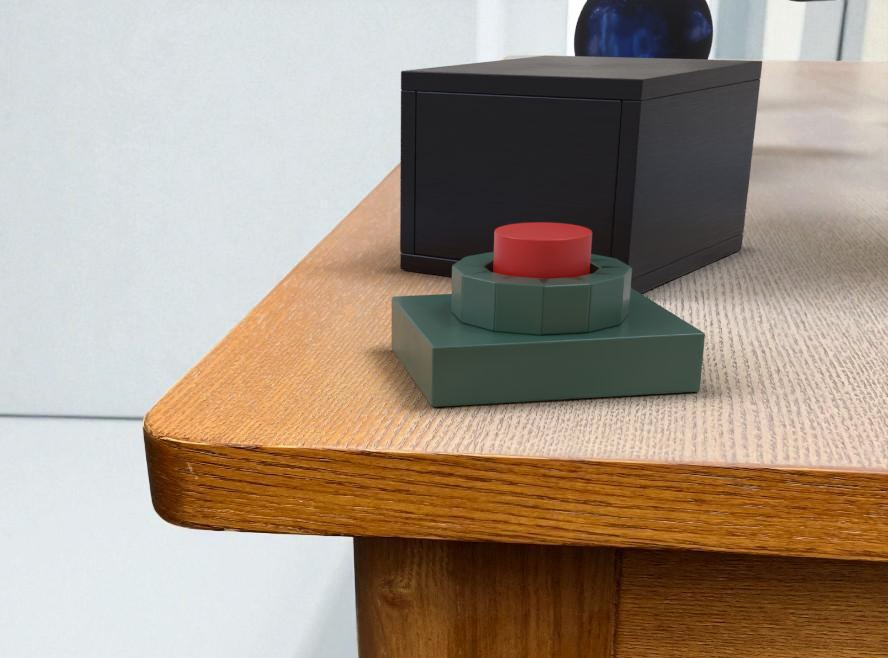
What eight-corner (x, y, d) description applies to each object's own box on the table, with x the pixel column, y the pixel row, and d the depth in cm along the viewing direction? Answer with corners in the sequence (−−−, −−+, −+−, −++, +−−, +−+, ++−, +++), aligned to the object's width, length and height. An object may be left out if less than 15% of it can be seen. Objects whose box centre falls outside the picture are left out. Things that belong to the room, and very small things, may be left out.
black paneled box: (537, 227, 78) (544, 55, 74) (741, 249, 71) (762, 60, 67) (399, 270, 67) (400, 70, 63) (625, 301, 60) (642, 79, 56)
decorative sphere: (561, 114, 141) (569, -35, 135) (579, 102, 154) (587, -34, 148) (702, 117, 137) (717, -37, 131) (708, 104, 150) (722, -36, 144)
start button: (572, 265, 50) (574, 220, 49) (602, 285, 47) (605, 237, 46) (482, 270, 50) (484, 224, 49) (506, 290, 46) (508, 241, 46)
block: (624, 337, 54) (631, 241, 52) (700, 392, 47) (711, 282, 45) (391, 349, 53) (391, 251, 51) (431, 407, 45) (433, 295, 44)
